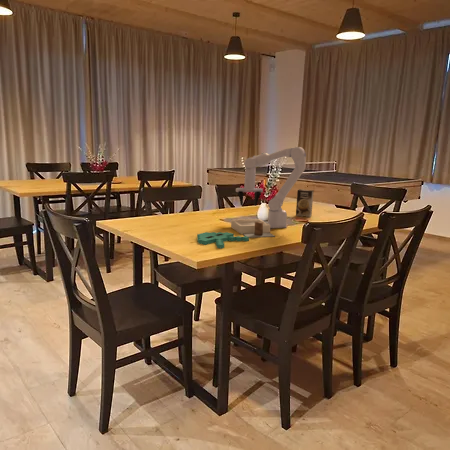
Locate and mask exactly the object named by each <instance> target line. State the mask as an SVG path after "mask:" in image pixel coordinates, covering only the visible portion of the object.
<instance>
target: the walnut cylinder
mask: <svg viewBox="0 0 450 450" xmlns="http://www.w3.org/2000/svg"><path fill="white" fill-rule="evenodd" d="M254 235H257V236H261V235H263V222H255V232H254Z"/></svg>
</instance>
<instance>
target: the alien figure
mask: <svg viewBox="0 0 450 450" xmlns="http://www.w3.org/2000/svg"><path fill="white" fill-rule="evenodd" d="M234 235H235V234H234V233H232V232H226V231H225V232H222V231H221V232H220V231H219V232H213V231H212V232H208V231H206V232H202V233H197V235H196V238H197V243H198V244H200V245H205V246H208V245H210V244H211V245H212V244H214V243H215V245H216V248H217V249H221V250H222V249H225V243H224V242H228V241H229V242H249V240H250V238H249V237H247V236H244V235H243V236H240V235H238V236H234Z"/></svg>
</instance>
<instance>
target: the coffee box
mask: <svg viewBox="0 0 450 450" xmlns="http://www.w3.org/2000/svg"><path fill="white" fill-rule="evenodd" d="M314 191H315V190H313V189H303V188H302V189H301V188H298V189H297V192H296V193H297V195H296V205H295V206H296V209H295V216H296V217H303V216H306V217H307V218H311V217H312V214H313V203H314V202H313V201H314ZM306 217H305V218H306Z"/></svg>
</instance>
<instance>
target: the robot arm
mask: <svg viewBox="0 0 450 450" xmlns="http://www.w3.org/2000/svg"><path fill="white" fill-rule="evenodd" d="M284 157H287V158H291V159H292V160H293V162H294V168H293V170H292V171H291V173H290V174H289V176H288V177H287V179H286V180H285V182H284V183H283V184H282V186H281V187H280V189H279V190H278V192H277V193H276V194H275V196H274V197H273V198H271V199H270V200H269V201H268V204H267V206H268V211H267V213H268V215H267V216H268V217H267V223H268V224H269V225H270V229H275V228H276V229H278V228H279V229H281V228H282V229H283V228H288V226H287V219H288V218H287V217H288V214H287V211H286V210H284V209H283V208H282V207H283V204H284V200H285V199H286V197H287V196H288V194H289V193H290V191H291V190H292V188H293V187H294V185H295V184H296V183H297V182H298V180H299V178H301V175H302V174H303V173H304V172H305V170H306V168H307V167H306V166H307V154H306V151H305V149H304V148H303V147H301V146H295V147H290V148H284V149H282V150H278V151H275V152H272V153H270V154H269V153H267V152H261V153H260V154H258V155H253V156H252V157H247V158H246V159H245V160H244V166H245V171H244V187H237V188H235V192H236V194H237V196H238V198H239V202H240V203H239V204H240V206H242V207H243V205H244V195H245V194H244V193H254V201H253V206H257V205H258V201H259V199H260V197H261V196H262V193H263V192H264V191H263V190H264V189H263V188H259V187H256V177H257V176H256V173H257V172H256V169H257V167H263V166H265V165H269V164H270V163H271V161H273V160H276V159H281V158H284Z"/></svg>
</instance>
